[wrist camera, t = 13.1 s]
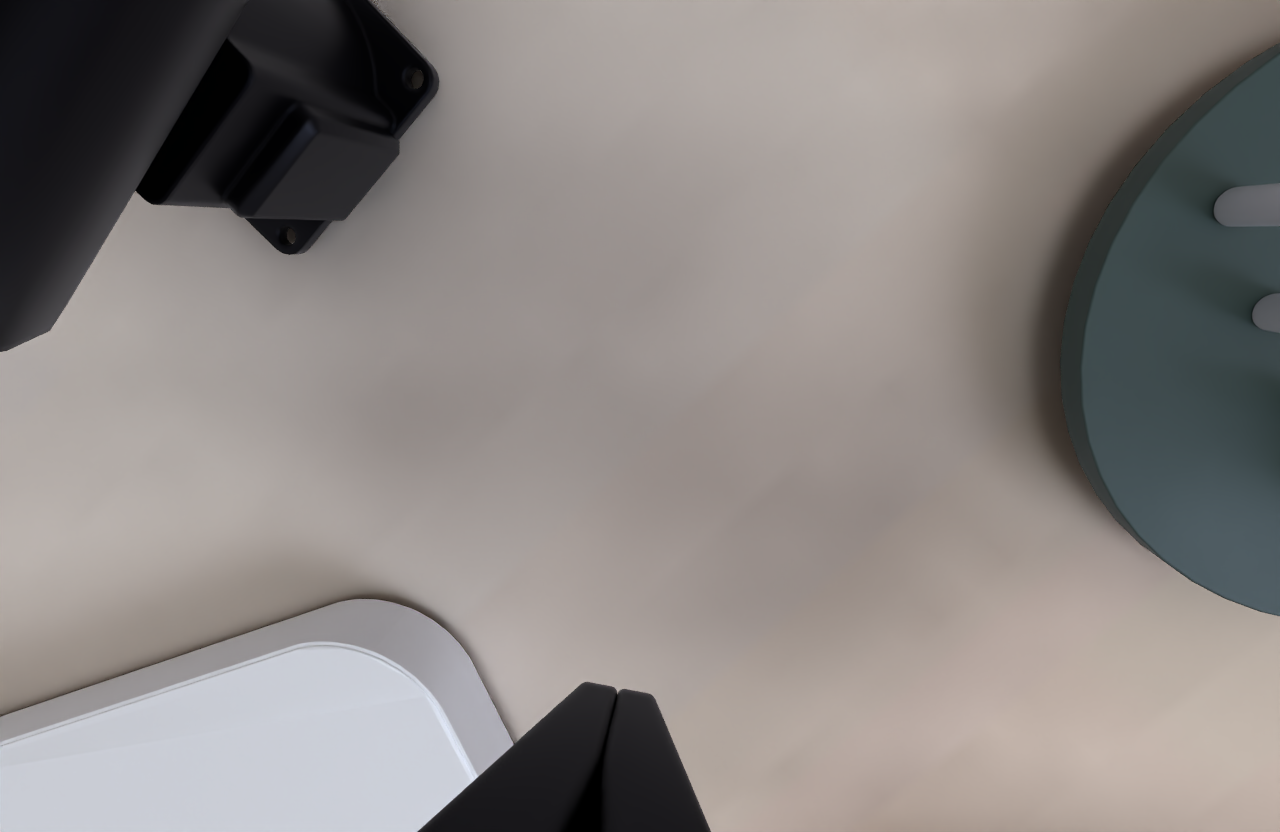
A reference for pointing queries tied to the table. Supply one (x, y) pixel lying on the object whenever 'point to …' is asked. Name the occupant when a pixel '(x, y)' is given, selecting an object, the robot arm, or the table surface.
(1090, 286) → the pegged disc stand
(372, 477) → the table surface
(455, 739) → the computer
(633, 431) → the table surface
